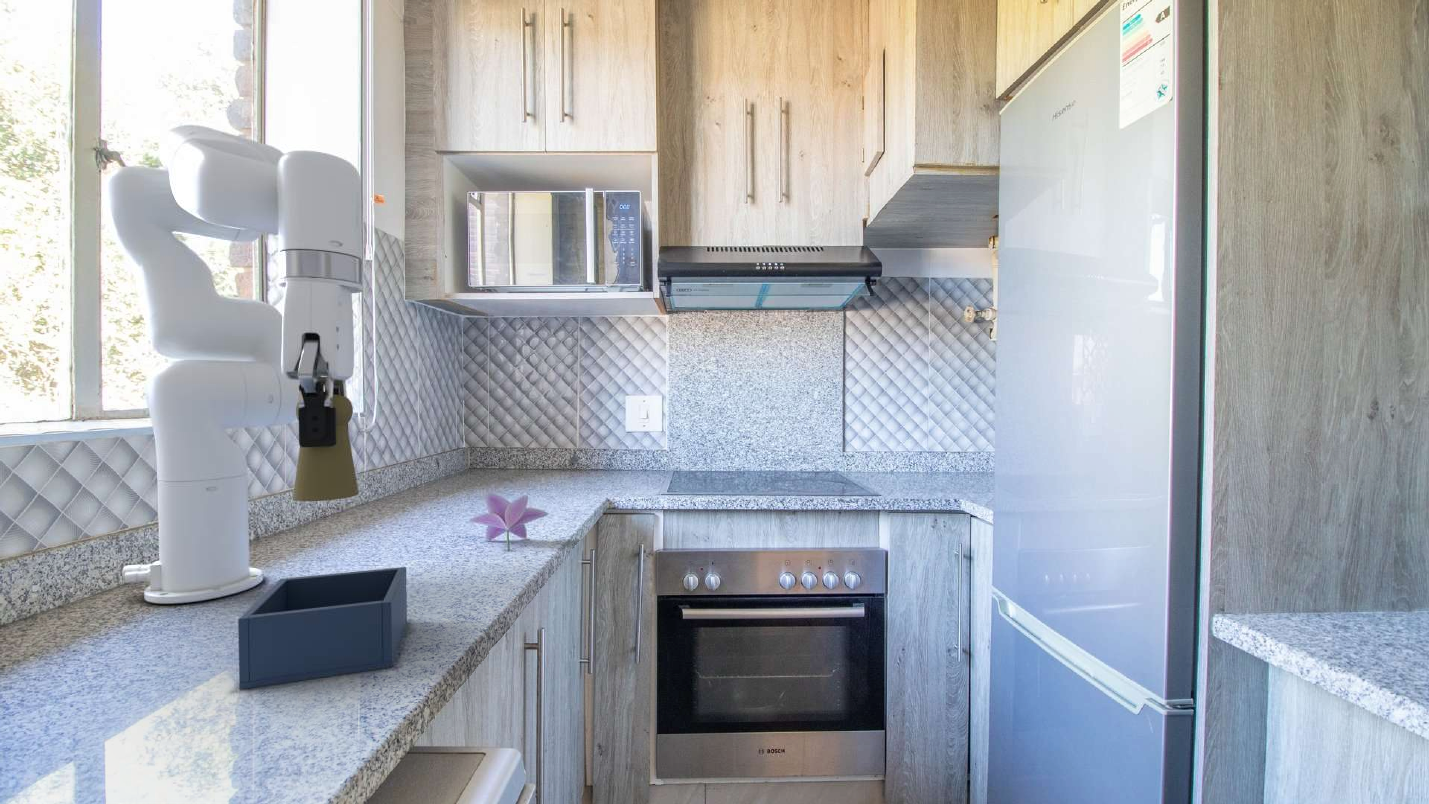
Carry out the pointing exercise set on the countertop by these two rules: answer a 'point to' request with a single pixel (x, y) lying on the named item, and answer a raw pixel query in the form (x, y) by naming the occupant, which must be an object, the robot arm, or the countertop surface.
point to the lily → (507, 516)
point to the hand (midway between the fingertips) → (325, 442)
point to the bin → (323, 627)
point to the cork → (328, 463)
